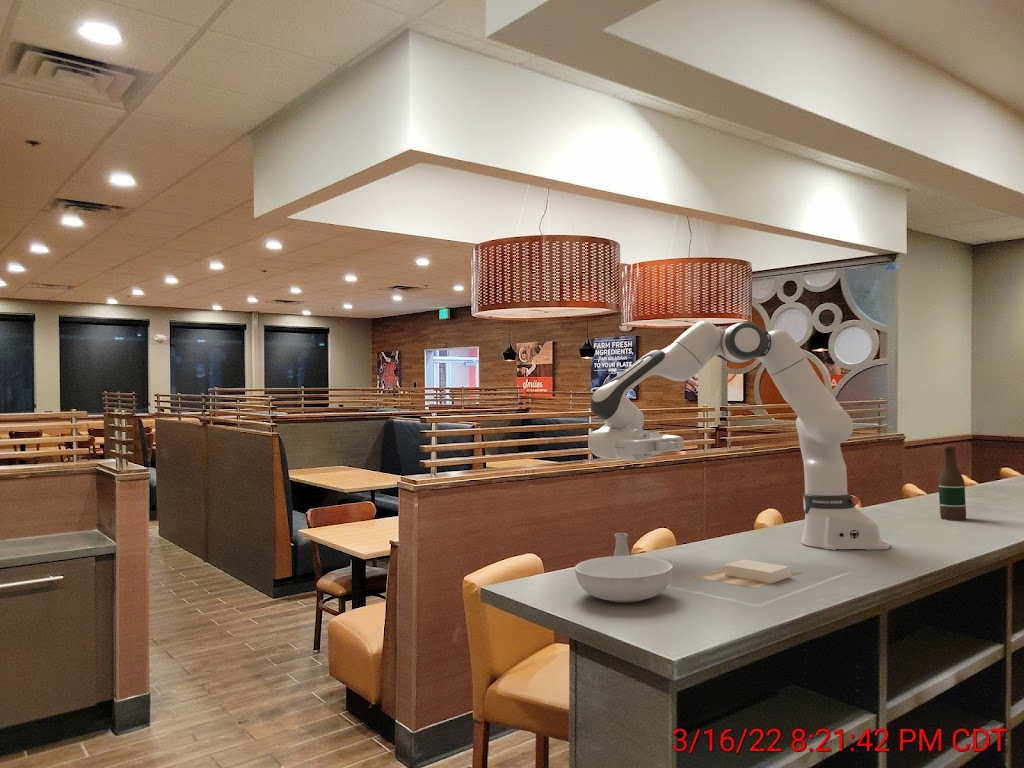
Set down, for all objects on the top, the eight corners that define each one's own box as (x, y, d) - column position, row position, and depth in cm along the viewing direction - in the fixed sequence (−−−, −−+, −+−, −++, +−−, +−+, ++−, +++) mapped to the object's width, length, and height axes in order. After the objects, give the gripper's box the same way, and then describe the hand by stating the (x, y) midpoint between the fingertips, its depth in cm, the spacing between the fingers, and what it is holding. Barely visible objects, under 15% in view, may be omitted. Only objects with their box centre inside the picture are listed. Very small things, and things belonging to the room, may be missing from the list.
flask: (637, 579, 175) (635, 536, 175) (606, 578, 177) (605, 536, 177) (638, 572, 182) (636, 531, 182) (608, 571, 184) (607, 531, 184)
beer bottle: (944, 516, 248) (941, 444, 248) (970, 518, 242) (967, 445, 242) (935, 519, 243) (932, 446, 243) (961, 521, 237) (958, 446, 237)
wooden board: (693, 578, 173) (693, 576, 173) (742, 564, 186) (741, 562, 186) (754, 590, 161) (754, 588, 161) (801, 574, 174) (801, 572, 174)
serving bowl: (590, 583, 173) (589, 553, 173) (680, 588, 165) (679, 557, 165) (563, 607, 153) (562, 573, 154) (664, 614, 146) (663, 579, 146)
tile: (724, 564, 174) (770, 572, 165) (743, 559, 179) (789, 566, 170) (724, 575, 174) (771, 583, 164) (743, 569, 179) (790, 577, 170)
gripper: (609, 435, 198) (650, 435, 188) (658, 431, 212) (698, 432, 201) (610, 458, 198) (651, 460, 188) (659, 453, 211) (699, 455, 201)
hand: (676, 445), depth 194 cm, fingers closed
